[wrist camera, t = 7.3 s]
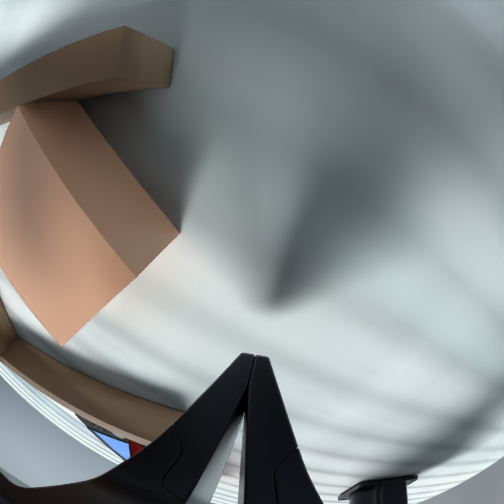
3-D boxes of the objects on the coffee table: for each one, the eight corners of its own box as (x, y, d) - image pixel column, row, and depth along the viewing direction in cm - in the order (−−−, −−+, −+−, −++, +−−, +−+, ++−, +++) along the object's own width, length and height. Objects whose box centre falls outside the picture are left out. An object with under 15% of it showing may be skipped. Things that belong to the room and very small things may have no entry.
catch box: (189, 422, 13) (176, 456, 11) (16, 342, 15) (-1, 360, 13) (173, 49, 6) (124, 25, 4) (-37, 124, 7) (-65, 133, 5)
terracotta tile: (100, 304, 11) (61, 347, 8) (26, 205, 9) (-21, 230, 7) (183, 229, 8) (136, 277, 6) (83, 101, 7) (17, 105, 4)
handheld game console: (74, 399, 17) (36, 459, 11) (181, 429, 15) (146, 521, 8) (137, 461, 22) (116, 509, 16) (226, 482, 20) (210, 540, 13)
